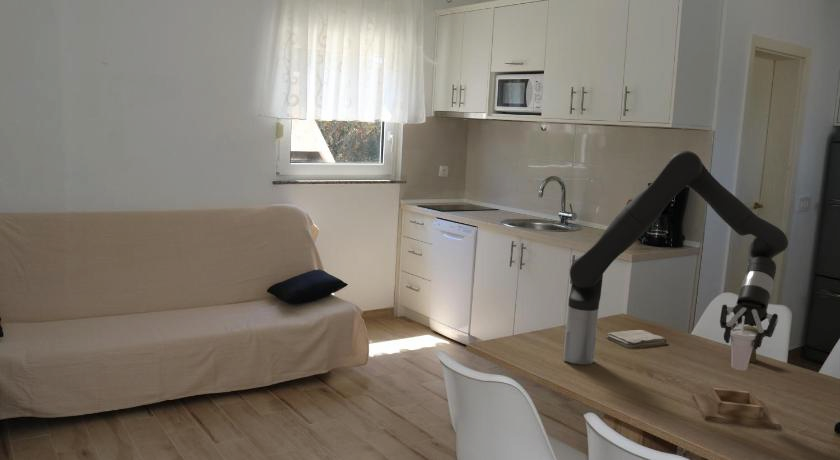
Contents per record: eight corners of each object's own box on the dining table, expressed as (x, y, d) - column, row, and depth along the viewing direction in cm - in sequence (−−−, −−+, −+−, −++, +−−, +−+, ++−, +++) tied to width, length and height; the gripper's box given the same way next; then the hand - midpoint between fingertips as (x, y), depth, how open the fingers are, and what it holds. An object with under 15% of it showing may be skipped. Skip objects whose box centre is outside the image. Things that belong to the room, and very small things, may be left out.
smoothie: (721, 363, 193) (727, 312, 191) (744, 364, 194) (751, 313, 191) (733, 371, 187) (740, 319, 185) (757, 372, 187) (764, 320, 185)
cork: (758, 363, 235) (762, 330, 233) (738, 360, 236) (742, 328, 234) (753, 357, 241) (757, 325, 239) (734, 355, 242) (738, 323, 240)
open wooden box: (704, 420, 186) (706, 404, 185) (692, 397, 201) (693, 382, 201) (779, 428, 183) (781, 412, 182) (760, 404, 198) (762, 390, 198)
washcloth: (603, 339, 253) (604, 331, 252) (641, 335, 261) (642, 326, 260) (628, 350, 242) (629, 341, 242) (667, 345, 251) (668, 336, 250)
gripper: (726, 279, 197) (710, 330, 189) (784, 289, 189) (770, 343, 181) (728, 295, 202) (713, 345, 194) (785, 305, 194) (771, 358, 186)
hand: (741, 344), depth 188 cm, fingers closed on smoothie, 6 cm apart
